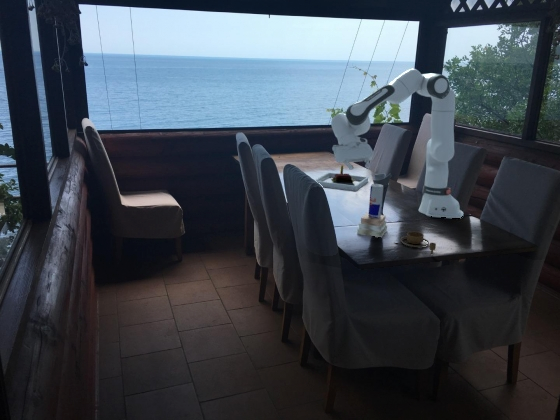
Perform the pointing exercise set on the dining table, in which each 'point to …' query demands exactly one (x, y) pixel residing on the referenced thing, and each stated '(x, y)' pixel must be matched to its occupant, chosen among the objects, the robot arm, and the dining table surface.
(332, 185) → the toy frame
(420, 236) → the place setting
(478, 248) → the dining table surface
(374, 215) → the beverage can
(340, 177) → the fire station toy set
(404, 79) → the robot arm
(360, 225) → the stacked square slabs
